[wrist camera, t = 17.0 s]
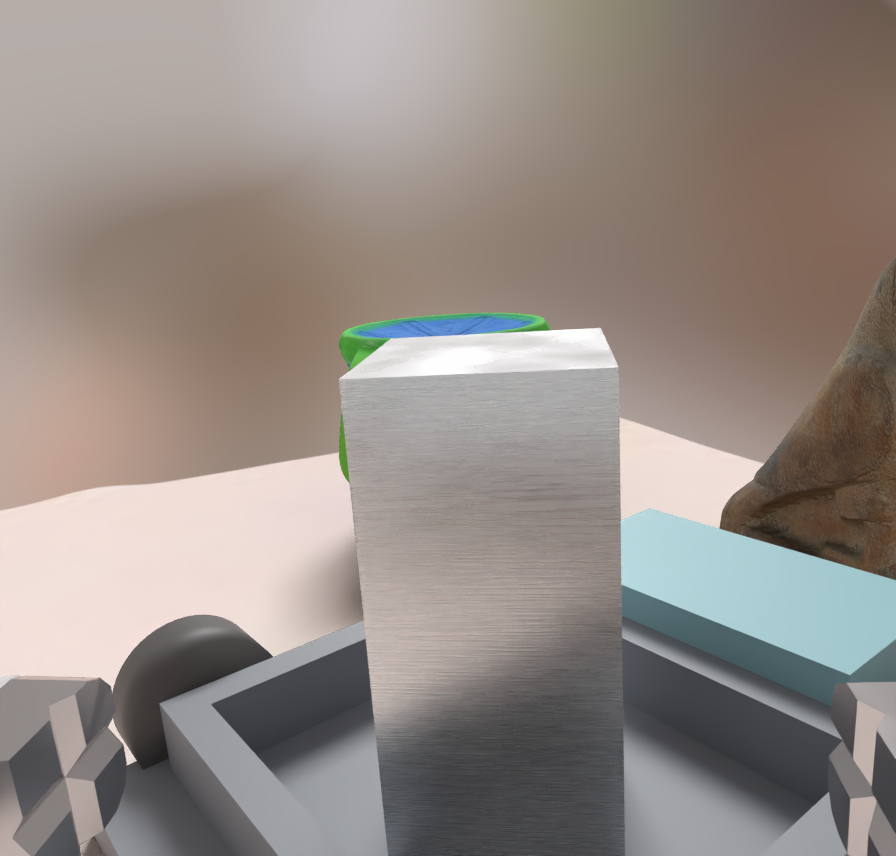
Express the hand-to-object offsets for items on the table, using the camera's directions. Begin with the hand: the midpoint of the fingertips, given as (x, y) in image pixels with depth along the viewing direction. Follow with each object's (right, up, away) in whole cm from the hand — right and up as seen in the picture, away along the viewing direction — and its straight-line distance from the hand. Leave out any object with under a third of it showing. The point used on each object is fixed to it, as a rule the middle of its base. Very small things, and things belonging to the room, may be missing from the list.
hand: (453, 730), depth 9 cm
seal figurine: (+16, -3, +24) cm, 29 cm away
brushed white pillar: (+1, -6, +10) cm, 12 cm away
